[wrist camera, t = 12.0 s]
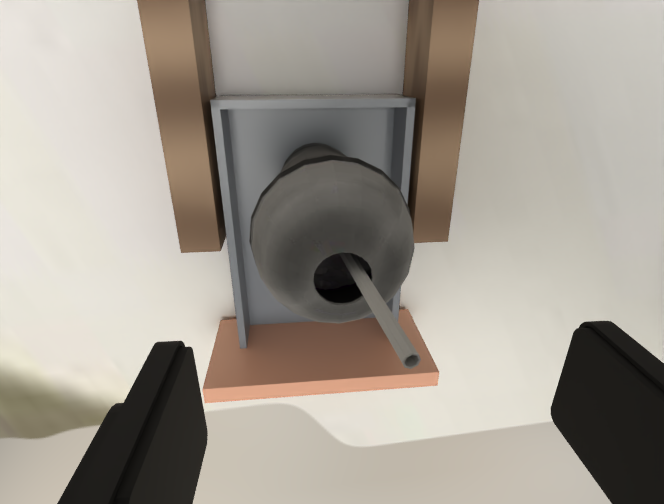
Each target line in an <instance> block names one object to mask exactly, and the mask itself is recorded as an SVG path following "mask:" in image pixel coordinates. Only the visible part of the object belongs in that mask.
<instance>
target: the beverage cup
mask: <svg viewBox="0 0 664 504" xmlns="http://www.w3.org/2000/svg"><path fill="white" fill-rule="evenodd" d="M249 242H250V245H251V249H252V253H253V256H254V260H255V263H256V266H257V269H258V272H259V275H260V278H261V279H262V281H263V282H264V284H265V285H266V286H267V288H268V289H269V291H270V292H271V293H272V295H273V296H274V298H275V299H276V300H277V301H278V302H280V303H281V304H283V305H284V306H285V307H287V308H288V309H289V310H291V311H292V312H293V313H295V314H297V315H299V316H302V317H305V318H308V319H311V320H313V321H316V322H323V323H344V322H349V321H354V320H359V319H361V318H363V317H365V316H367V315H369V314H372V313H374V315H375V317H376V319H377V320H378V322H379V324H380V326H381V327H382V329H383V331H384V333H385V334H386V336H387V338H388V339H389V341H390V343H391V345H392V346H393V348H394V350H395V352H396V353H397V355H398V357H399V359H400V360H401V362H402V364H403V366H404V367H405V368H409V369H412V368H414V367H416V366H418V364H419V362H420V360H421V359H420V356H419V354H418V352H417V351H416V349H415V348H414V346H413V345H412V343H411V342H410V340H409V339H408V337H407V335H406V334H405V332H404V331H403V329H402V328H401V326H400V325H399V323H398V322H397V320H396V318H395V317H394V315H393V314H392V312H391V311H390V309H389V308H388V306H387V304H386V303H387V302H388V301H389V300H390V299H391V298H393V297H394V296H395V294H396V293H397V291H398V290H399V288H400V286H401V285H402V283H403V282H404V280H405V278H406V277H407V275H408V272H409V268H410V264H411V260H412V256H413V252H414V238H413V226H412V220H411V217H410V210H409V207H408V205H407V203H406V201H405V199H404V197H403V195H402V192H401V190H400V188H399V187H398V186H397V185H396V184H395V183H394V182H393V181H392V180H391V179H390V178H389V177H388V176H387V175H386V174H385V173H384V172H383V171H382V170H381V169H379V168H377V167H375V166H373V165H371V164H369V163H367V162H365V161H363V160H361V159H359V158H352V157H347V156H346V155H344V154H343V153H341V152H340V151H339V150H337V149H335V148H333V147H331V146H328V145H326V144H321V143H310V144H305V145H303V146H301V147H299V148H298V149H296V150H295V151H294V152H293V153H292V154H291V155H290V156H289V157H288V159H287V160H286V161H285V163H284V166H283V168H282V170H281V172H280V173H279V174H278V175H277V177H276V178H275V179H274V180H273V181H272V182H271V183H270V184H269V185H268V186H267V187H266V189H265V190H264V191H263V192H262V193H261V195H260V197H259V199H258V202H257V204H256V206H255V209H254V211H253V213H252V216H251V224H250V239H249Z"/></svg>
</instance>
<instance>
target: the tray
mask: <svg viewBox="0 0 664 504" xmlns="http://www.w3.org/2000/svg"><path fill="white" fill-rule="evenodd" d="M210 103H211V112H212V120H213V128H214V137H215V145H216V153H217V162H218V170H219V178H220V187H221V195H222V203H223V211H224V220H225V228H226V236H227V245H228V253H229V261H230V270H231V278H232V286H233V295H234V303H235V311H236V319H230V320H221V321H220V325H219V329H218V333H217V336H216V340H215V344H214V348H213V352H212V355H211V359H210V363H209V367H208V371H207V374H206V378H205V382H204V386H203V395H204V400H205V403H212V402H225V401H239V400H252V399H265V398H278V397H291V396H304V395H318V394H331V393H344V392H357V391H370V390H383V389H397V388H410V387H423V386H436V385H438V377H439V371H438V369H437V367H436V365H435V363H434V361H433V359H432V357H431V355H430V353H429V351H428V349H427V347H426V345H425V343H424V341H423V339H422V337H421V335H420V333H419V331H418V329H417V327H416V325H415V323H414V320H413V318H412V316H411V314H410V312H409V310H408V309H403V310H399V304H400V291H401V286H400V288H399V290H398V291H397V293H396V294H395V296H394V297H393V298H391V299H390V300H389V301H388V302H387V303H386V304H387V306H388V308H389V309H390V311H391V312H392V314H393V315H394V317H395V318H396V320H397V322H398V323H399V325H400V326H401V328H402V329H403V331H404V332H405V334H406V335H407V337H408V339H409V340H410V342H411V343H412V345H413V346H414V348H415V349H416V351H417V352H418V354H419V356H420V359H421V360H420V362H419V364H418V366H416V367H414V368H412V369H409V368H405V367H404V366H403V364H402V362H401V360H400V359H399V357H398V355H397V353H396V352H395V350H394V348H393V346H392V345H391V343H390V341H389V339H388V338H387V336H386V334H385V333H384V331H383V329H382V327H381V326H380V324H379V322H378V320H377V319H376V317H375V315H374V313H372V314H369V315H367V316H365V317H363V318H361V319H359V320H354V321H349V322H344V323H323V322H316V321H313V320H311V319H308V318H305V317H302V316H299V315H297V314H295V313H293V312H292V311H291V310H289V309H288V308H287V307H285V306H284V305H283V304H281V303H280V302H278V301H277V300H276V299H275V298H274V296H273V295H272V293H271V292H270V291H269V289H268V288H267V286H266V285H265V284H264V282H263V281H262V279H261V278H260V275H259V272H258V269H257V266H256V263H255V260H254V256H253V253H252V249H251V245H250V242H249V239H250V224H251V216H252V213H253V211H254V209H255V206H256V204H257V202H258V199H259V197H260V195H261V193H262V192H263V191H264V190H265V189H266V187H267V186H268V185H269V184H270V183H271V182H272V181H273V180H274V179H275V178H276V177H277V175H278V174H279V173H280V172H281V170H282V168H283V166H284V163H285V161H286V160H287V159H288V157H289V156H290V155H291V154H292V153H293V152H294V151H295V150H296V149H298V148H299V147H301V146H303V145H305V144H310V143H321V144H326V145H328V146H331V147H333V148H335V149H337V150H339V151H340V152H341V153H343V154H344V155H346V156H347V157H352V158H359V159H361V160H363V161H365V162H367V163H369V164H371V165H373V166H375V167H377V168H379V169H381V170H382V171H383V172H384V173H385V174H386V175H387V176H388V177H389V178H390V179H391V180H392V181H393V182H394V183H395V184H396V185H397V186H398V187H399V188H400V190H401V192H402V195H403V197H404V199H405V201H406V203H407V204H408V191H409V179H410V167H411V154H412V142H413V129H414V117H415V104H416V98H413V97H409V96H404V95H400V94H366V95H240V96H219V97H216V98H214V99H212V100H210Z"/></svg>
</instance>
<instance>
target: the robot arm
mask: <svg viewBox="0 0 664 504" xmlns="http://www.w3.org/2000/svg"><path fill="white" fill-rule="evenodd" d="M551 416H552V419H553V422H554V423H555V425H556V426H557V428H558V429H559V431H560V432H561V433H562V435H563V436H564V438H565V439H566V440H567V442H568V443H569V445H570V446H571V447H572V449H573V450H574V451H575V453H576V454H577V455H578V457H579V458H580V460H581V461H582V462H583V464H584V465H585V467H586V468H587V469H588V471H589V472H590V473H591V475H592V476H593V478H594V479H595V481H596V482H597V483H598V485H599V486H600V487H601V489H602V490H603V492H604V493H605V494H606V496H607V497H608V499H609V500H610V501H611V503H612V504H664V363H662V362H661V361H660V360H659V359H657V358H656V357H655V356H654V355H652V354H651V353H650V352H649V351H648V350H646V349H645V348H644V347H643V346H641V345H640V344H639V343H638V342H636V341H635V340H634V339H633V338H631V337H630V336H629V335H628V334H626V333H625V332H624V331H623V330H622V329H620V328H619V327H618V326H617V325H615V324H614V323H612V322H611V321H592V322H584V323H582V324H581V325H580V327H579V328H577V329H576V330H575V331H574V333H573V336H572V340H571V343H570V346H569V349H568V353H567V356H566V359H565V363H564V366H563V369H562V373H561V376H560V379H559V383H558V386H557V389H556V393H555V396H554V399H553V403H552V406H551ZM206 445H207V426H206V420H205V415H204V409H203V404H202V398H201V393H200V387H199V382H198V376H197V370H196V365H195V359H194V354H193V349H192V348H191V347H185V345H184V343H183V342H182V341H168V342H157V343H155V344H154V346H153V348H152V350H151V352H150V353H149V355H148V357H147V359H146V361H145V363H144V365H143V367H142V369H141V371H140V373H139V375H138V376H137V378H136V380H135V382H134V384H133V386H132V388H131V390H130V392H129V394H128V396H127V398H126V399H125V401H124V403H116V404H115V405H114V406H112V407H111V409H110V410H109V412H108V413H107V415H106V417H105V419H104V420H103V422H102V424H101V426H100V428H99V429H98V431H97V433H96V435H95V437H94V438H93V440H92V442H91V444H90V446H89V448H88V449H87V451H86V453H85V455H84V456H83V458H82V460H81V462H80V464H79V466H78V467H77V469H76V471H75V473H74V475H73V476H72V478H71V480H70V482H69V484H68V486H67V487H66V489H65V491H64V493H63V495H62V496H61V498H60V500H59V502H58V503H57V504H192V503H193V499H194V495H195V491H196V486H197V482H198V478H199V474H200V470H201V466H202V462H203V458H204V454H205V449H206Z"/></svg>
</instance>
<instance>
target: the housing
mask: <svg viewBox="0 0 664 504" xmlns="http://www.w3.org/2000/svg"><path fill="white" fill-rule="evenodd" d="M137 3H138V8H139V14H140V20H141V26H142V31H143V37H144V43H145V49H146V54H147V60H148V66H149V71H150V77H151V83H152V89H153V94H154V100H155V106H156V112H157V117H158V123H159V129H160V134H161V140H162V146H163V152H164V157H165V163H166V169H167V175H168V180H169V186H170V192H171V197H172V203H173V209H174V215H175V220H176V226H177V232H178V238H179V243H180V249H181V253H188V252H212V251H221V249H222V246H223V243H224V240H225V238H226V228H225V220H224V211H223V203H222V195H221V187H220V178H219V170H218V162H217V153H216V145H215V137H214V128H213V120H212V112H211V103H210V100H212V99H214V98H216V94H215V85H214V76H213V68H212V59H211V50H210V41H209V33H208V24H207V15H206V6H205V0H137ZM478 4H479V0H409V10H408V25H407V40H406V55H405V70H404V85H403V95H404V96H409V97H413V98H416V104H415V117H414V129H413V142H412V154H411V167H410V179H409V191H408V204H407V205H408V207H409V210H410V217H411V220H412V226H413V238H414V243H424V242H447V241H448V236H449V228H450V221H451V213H452V205H453V197H454V190H455V182H456V174H457V166H458V159H459V151H460V143H461V135H462V128H463V120H464V112H465V105H466V97H467V89H468V81H469V74H470V66H471V58H472V50H473V43H474V35H475V27H476V19H477V12H478Z"/></svg>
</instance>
